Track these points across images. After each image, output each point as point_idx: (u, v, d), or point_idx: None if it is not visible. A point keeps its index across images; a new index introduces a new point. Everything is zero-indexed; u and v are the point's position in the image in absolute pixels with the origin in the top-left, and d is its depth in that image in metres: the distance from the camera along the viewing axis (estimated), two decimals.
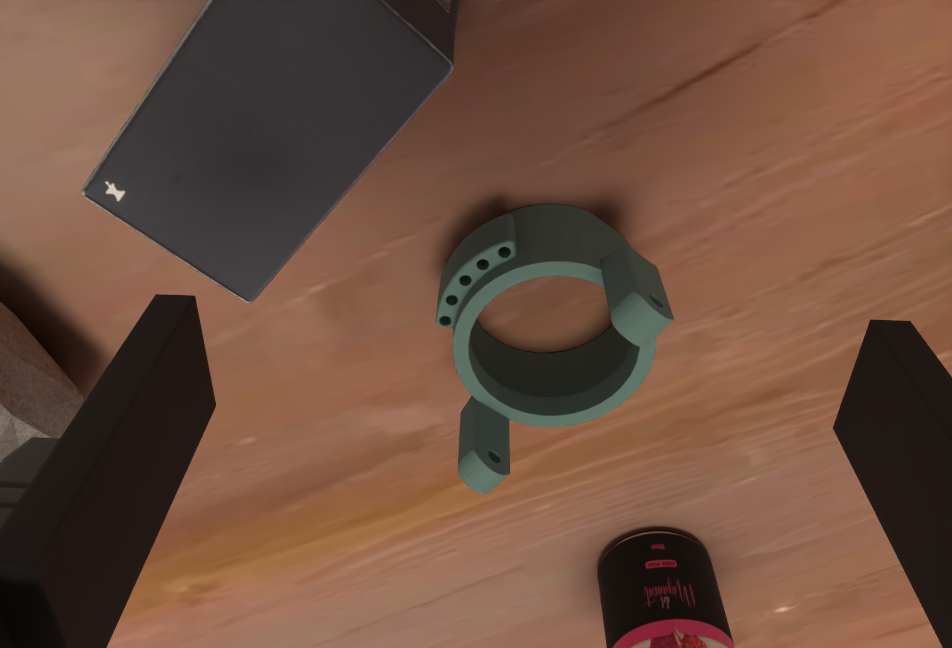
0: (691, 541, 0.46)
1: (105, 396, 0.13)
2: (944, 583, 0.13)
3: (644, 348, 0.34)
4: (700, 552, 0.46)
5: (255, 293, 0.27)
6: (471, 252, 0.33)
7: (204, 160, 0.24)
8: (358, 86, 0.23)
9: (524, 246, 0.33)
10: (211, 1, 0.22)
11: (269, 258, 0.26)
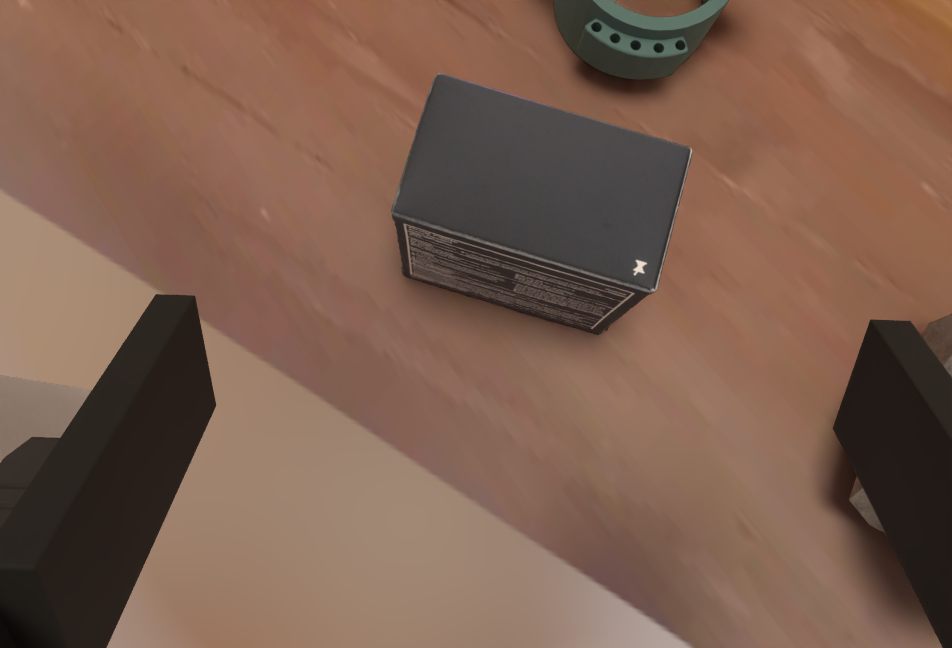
0: None
1: (105, 396, 0.13)
2: (944, 583, 0.13)
3: None
4: None
5: (679, 146, 0.32)
6: (613, 55, 0.39)
7: (582, 209, 0.31)
8: (478, 125, 0.31)
9: (587, 18, 0.40)
10: (465, 234, 0.31)
11: (642, 144, 0.32)
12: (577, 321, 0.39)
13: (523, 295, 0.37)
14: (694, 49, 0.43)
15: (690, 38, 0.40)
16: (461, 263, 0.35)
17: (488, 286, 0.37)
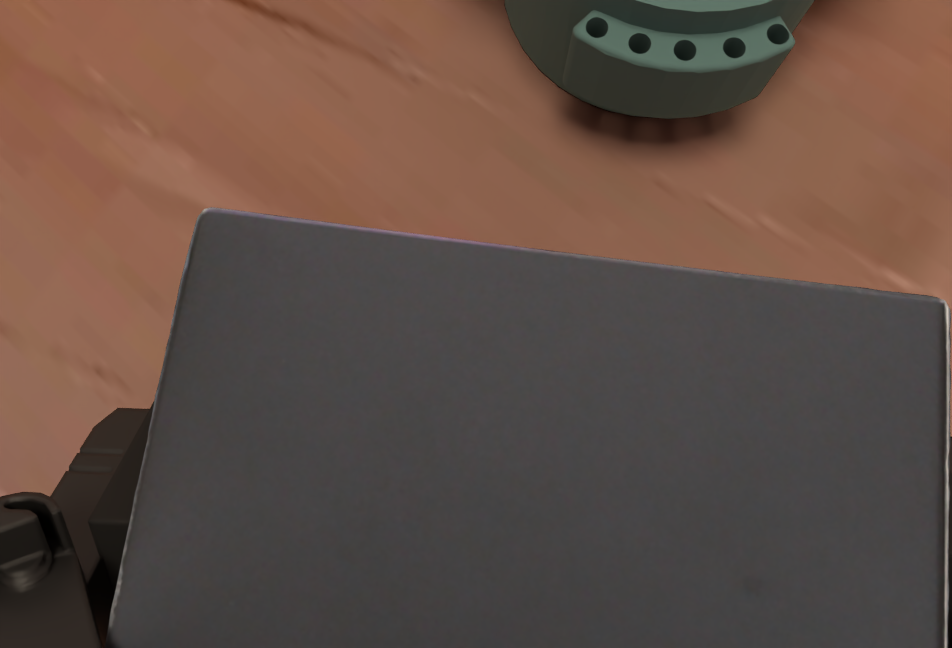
0: None
1: None
2: None
3: None
4: None
5: (911, 300, 0.11)
6: (639, 78, 0.19)
7: (672, 548, 0.10)
8: (329, 340, 0.11)
9: (575, 15, 0.19)
10: None
11: (805, 314, 0.11)
12: None
13: None
14: None
15: (790, 18, 0.19)
16: None
17: None
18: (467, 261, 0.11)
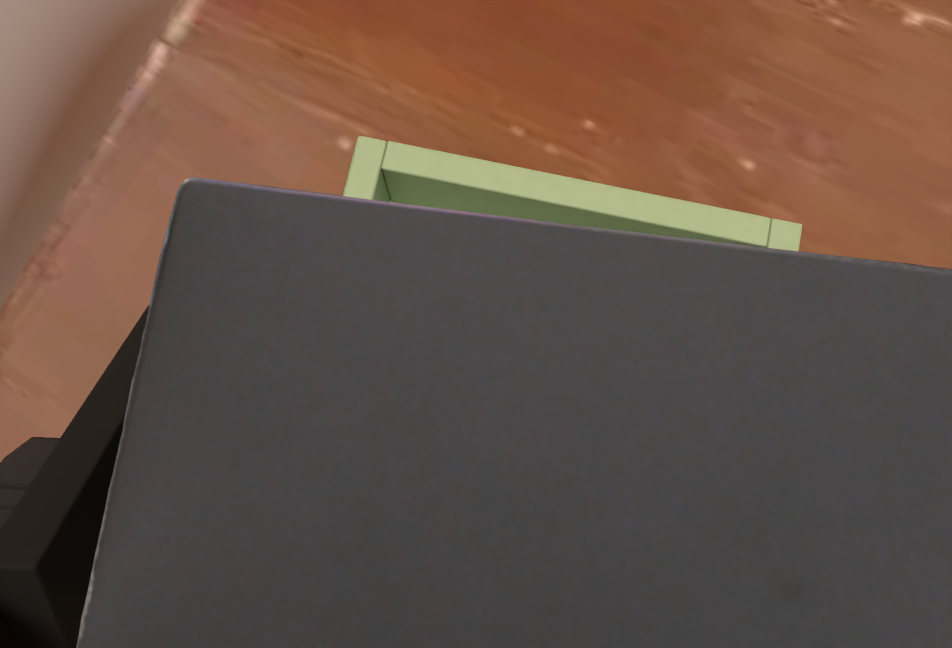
0: None
1: (105, 396, 0.13)
2: None
3: None
4: None
5: None
6: None
7: (702, 550, 0.09)
8: (322, 322, 0.10)
9: None
10: None
11: (844, 293, 0.10)
12: None
13: None
14: None
15: None
16: None
17: None
18: (474, 235, 0.10)
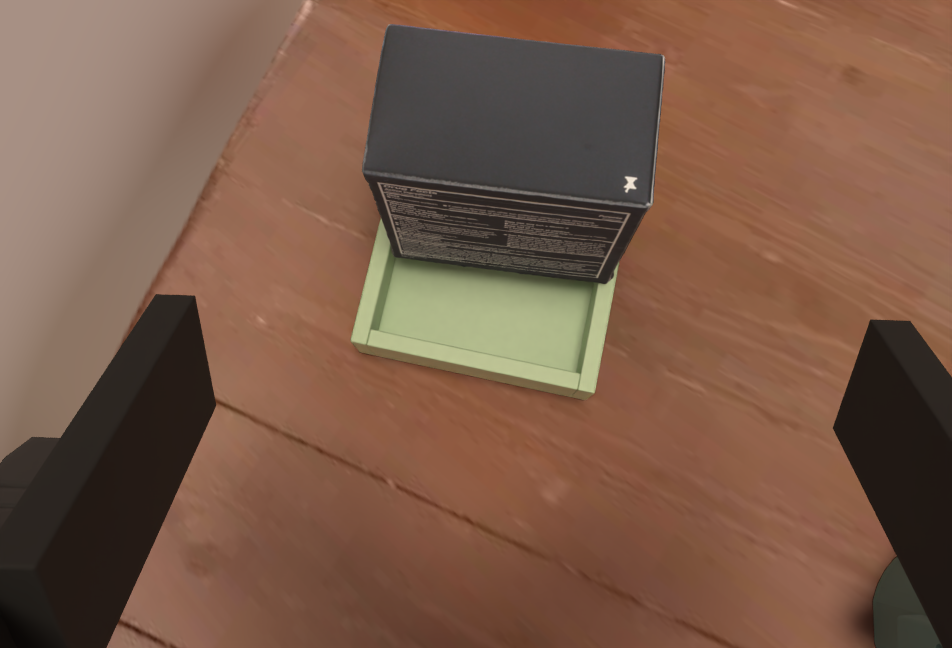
0: None
1: (105, 396, 0.13)
2: (944, 584, 0.13)
3: None
4: None
5: (650, 54, 0.30)
6: None
7: (560, 135, 0.29)
8: (437, 68, 0.30)
9: None
10: (443, 180, 0.29)
11: (610, 59, 0.30)
12: (580, 271, 0.37)
13: (518, 249, 0.35)
14: None
15: None
16: (447, 222, 0.33)
17: (481, 247, 0.36)
18: (487, 42, 0.30)
